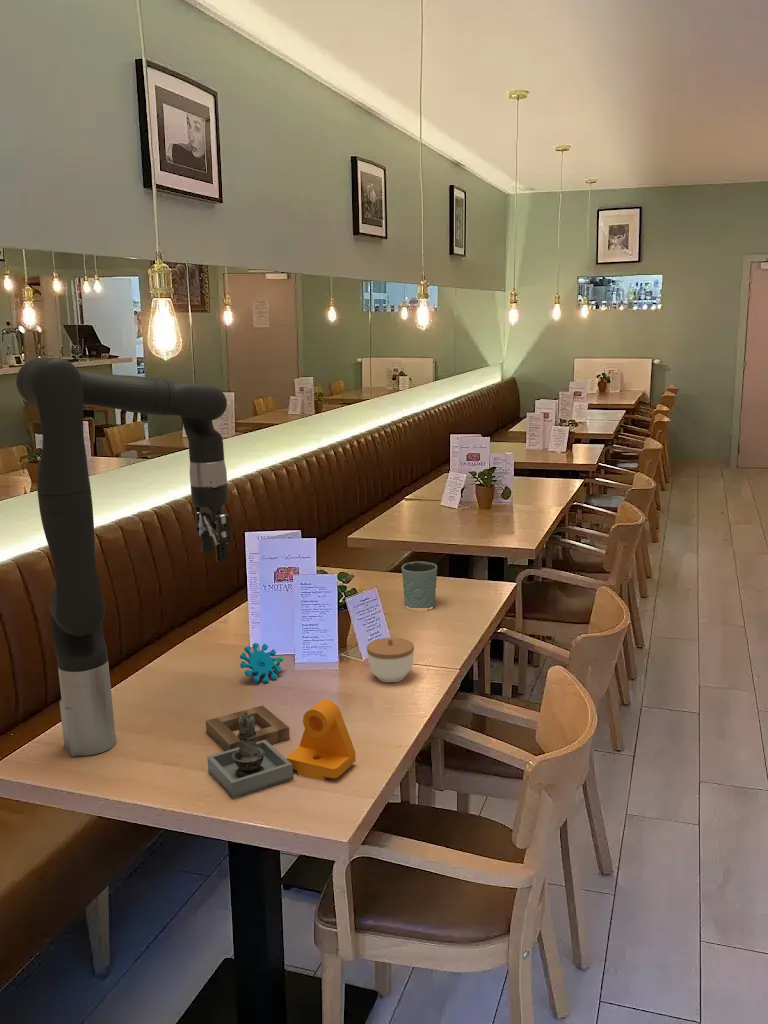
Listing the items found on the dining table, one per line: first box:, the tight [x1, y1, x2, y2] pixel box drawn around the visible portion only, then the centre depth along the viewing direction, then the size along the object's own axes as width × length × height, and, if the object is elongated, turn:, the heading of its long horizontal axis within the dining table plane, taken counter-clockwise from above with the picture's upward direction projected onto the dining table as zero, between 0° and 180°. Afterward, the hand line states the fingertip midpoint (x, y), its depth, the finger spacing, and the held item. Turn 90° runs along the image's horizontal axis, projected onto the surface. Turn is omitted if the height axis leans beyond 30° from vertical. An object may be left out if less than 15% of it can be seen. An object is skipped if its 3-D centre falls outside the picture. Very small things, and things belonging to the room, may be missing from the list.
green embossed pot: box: [401, 561, 438, 608], centre depth 252 cm, size 10×10×12 cm
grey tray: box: [206, 740, 294, 800], centre depth 161 cm, size 12×12×3 cm
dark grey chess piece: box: [232, 711, 265, 778], centre depth 160 cm, size 6×6×12 cm
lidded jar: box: [366, 637, 415, 684], centre depth 203 cm, size 11×11×9 cm
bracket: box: [286, 699, 357, 781], centre depth 162 cm, size 11×7×12 cm, turn 63°
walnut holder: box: [205, 704, 291, 752], centre depth 177 cm, size 12×12×2 cm
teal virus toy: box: [239, 642, 285, 684], centre depth 207 cm, size 11×6×10 cm
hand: (214, 557), depth 188 cm, fingers open, 8 cm apart
